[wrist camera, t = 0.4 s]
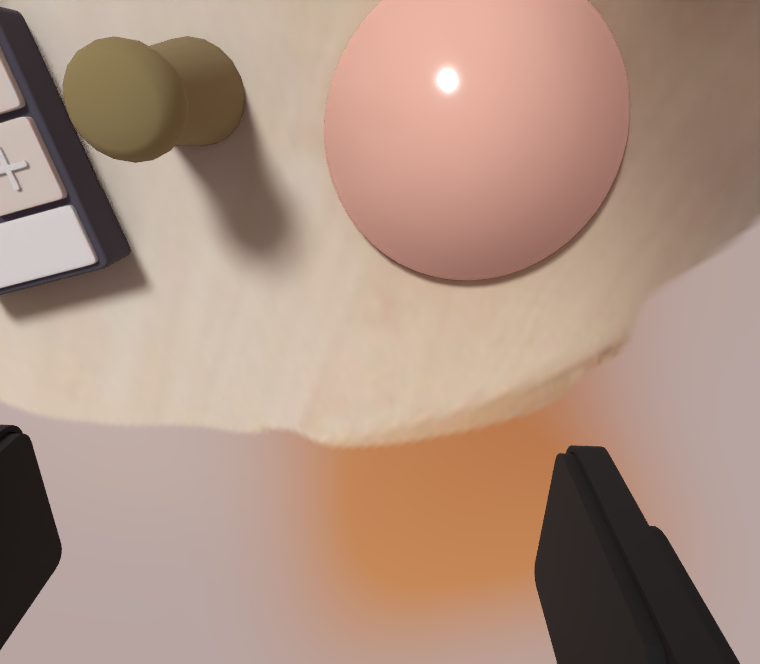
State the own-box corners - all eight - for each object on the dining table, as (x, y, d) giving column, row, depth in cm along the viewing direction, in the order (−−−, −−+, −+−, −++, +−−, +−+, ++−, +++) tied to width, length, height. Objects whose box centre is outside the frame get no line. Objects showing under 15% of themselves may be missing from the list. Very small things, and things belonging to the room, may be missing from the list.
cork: (196, 12, 32) (105, -12, 22) (265, 106, 34) (211, 122, 24) (122, 80, 33) (6, 86, 23) (192, 165, 35) (113, 204, 25)
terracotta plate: (452, -121, 29) (454, -127, 28) (688, 102, 33) (696, 102, 32) (271, 168, 35) (267, 170, 34) (487, 323, 40) (489, 329, 39)
